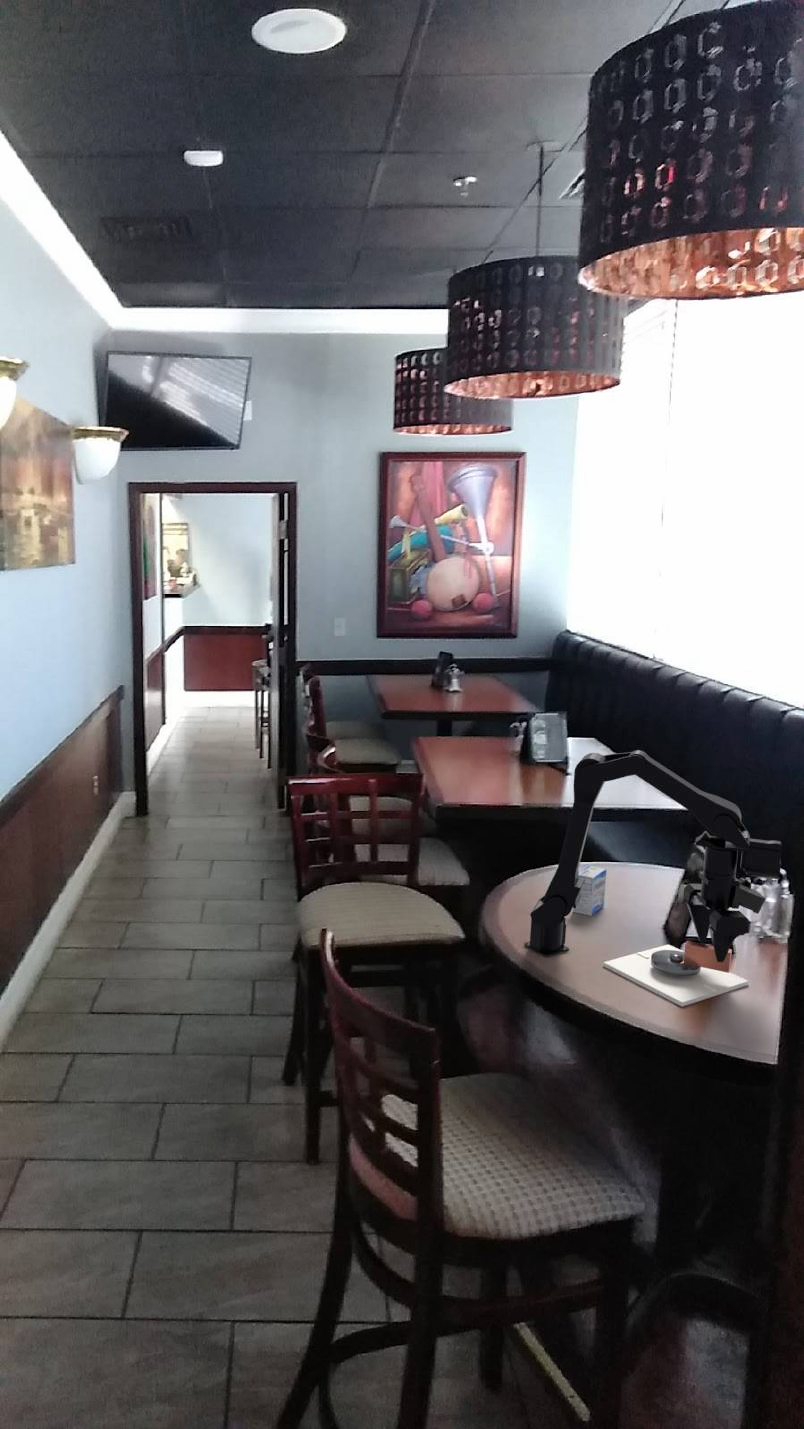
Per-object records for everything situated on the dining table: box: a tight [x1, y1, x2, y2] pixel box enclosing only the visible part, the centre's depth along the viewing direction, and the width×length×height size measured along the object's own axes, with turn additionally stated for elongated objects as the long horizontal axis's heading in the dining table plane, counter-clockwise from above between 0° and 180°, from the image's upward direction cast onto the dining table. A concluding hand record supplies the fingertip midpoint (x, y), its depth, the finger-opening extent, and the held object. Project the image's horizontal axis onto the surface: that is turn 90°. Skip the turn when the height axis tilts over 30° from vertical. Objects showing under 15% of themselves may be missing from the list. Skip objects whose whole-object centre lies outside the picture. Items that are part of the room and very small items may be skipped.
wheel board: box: [603, 944, 749, 1008], centre depth 186 cm, size 18×19×2 cm
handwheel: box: [651, 940, 733, 976], centre depth 185 cm, size 9×14×5 cm, turn 64°
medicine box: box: [572, 865, 607, 917], centre depth 218 cm, size 8×4×9 cm, turn 148°
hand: (711, 951), depth 185 cm, fingers open, 9 cm apart
